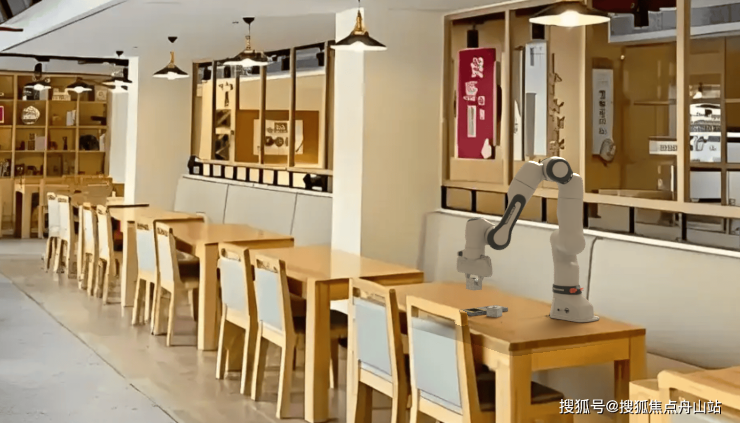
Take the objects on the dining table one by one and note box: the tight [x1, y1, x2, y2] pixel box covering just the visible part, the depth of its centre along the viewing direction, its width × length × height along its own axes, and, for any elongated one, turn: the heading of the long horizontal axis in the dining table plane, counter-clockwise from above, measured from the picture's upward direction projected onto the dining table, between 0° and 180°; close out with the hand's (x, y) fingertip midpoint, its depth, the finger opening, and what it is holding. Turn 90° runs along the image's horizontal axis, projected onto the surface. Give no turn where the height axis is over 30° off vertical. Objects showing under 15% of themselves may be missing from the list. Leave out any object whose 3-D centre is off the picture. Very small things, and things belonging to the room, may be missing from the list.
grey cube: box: [465, 276, 483, 292], centre depth 387 cm, size 5×5×5 cm
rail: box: [460, 304, 509, 317], centre depth 391 cm, size 8×22×3 cm, turn 125°
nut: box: [486, 305, 503, 318], centre depth 383 cm, size 5×5×5 cm
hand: (474, 284), depth 387 cm, fingers closed on grey cube, 5 cm apart
